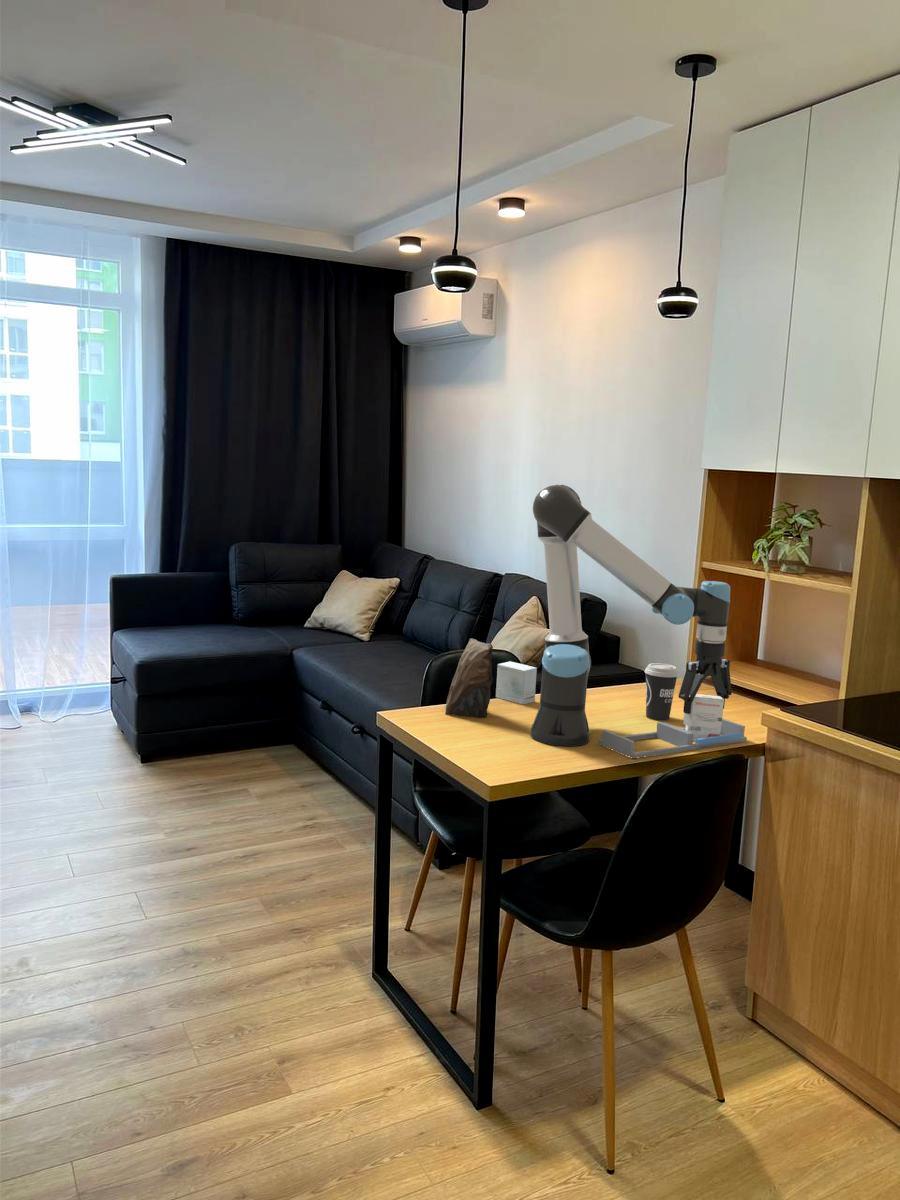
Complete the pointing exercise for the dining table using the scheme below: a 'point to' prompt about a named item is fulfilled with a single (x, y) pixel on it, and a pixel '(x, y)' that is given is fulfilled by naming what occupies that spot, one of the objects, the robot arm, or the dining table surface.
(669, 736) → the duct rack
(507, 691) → the skincare box
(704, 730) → the ink box
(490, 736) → the dining table surface
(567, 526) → the robot arm
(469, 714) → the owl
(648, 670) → the coffee cup
